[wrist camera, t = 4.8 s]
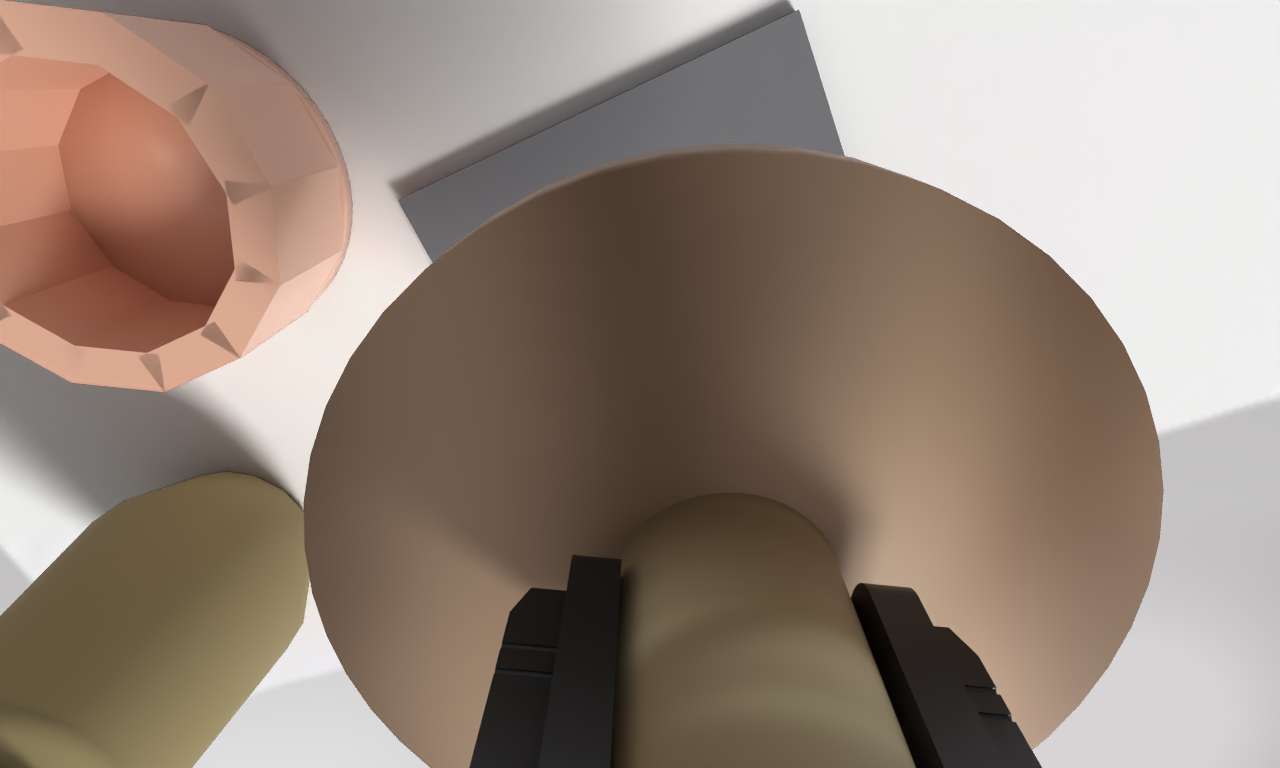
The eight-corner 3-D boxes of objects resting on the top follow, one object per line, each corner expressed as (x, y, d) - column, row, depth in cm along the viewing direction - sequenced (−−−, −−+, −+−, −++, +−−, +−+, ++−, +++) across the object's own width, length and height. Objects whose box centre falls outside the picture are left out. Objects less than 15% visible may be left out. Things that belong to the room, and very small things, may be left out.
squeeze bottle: (364, 485, 29) (-17, 1044, 12) (319, 631, 32) (-38, 1241, 15) (159, 414, 27) (-581, 927, 11) (131, 572, 30) (-484, 1166, 14)
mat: (795, 11, 22) (798, 9, 21) (915, 393, 27) (920, 398, 26) (402, 197, 24) (397, 200, 24) (580, 518, 29) (579, 525, 29)
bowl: (235, -38, 21) (109, -75, 16) (408, 262, 25) (348, 309, 20) (-21, 105, 23) (-208, 112, 18) (176, 369, 27) (66, 436, 22)
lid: (1019, -35, 9) (1703, -238, 3) (1166, 692, 13) (1548, 1146, 8) (170, 359, 11) (-345, 666, 5) (550, 865, 16) (494, 1316, 10)
